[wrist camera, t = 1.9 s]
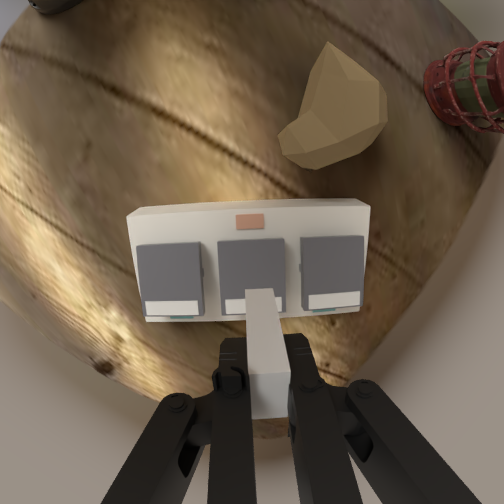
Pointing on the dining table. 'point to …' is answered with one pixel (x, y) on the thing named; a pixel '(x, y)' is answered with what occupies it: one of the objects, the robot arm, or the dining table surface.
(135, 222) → the console
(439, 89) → the lantern
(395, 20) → the dining table surface
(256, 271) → the rocker middle
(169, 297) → the rocker
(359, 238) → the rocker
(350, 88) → the low-poly potato
